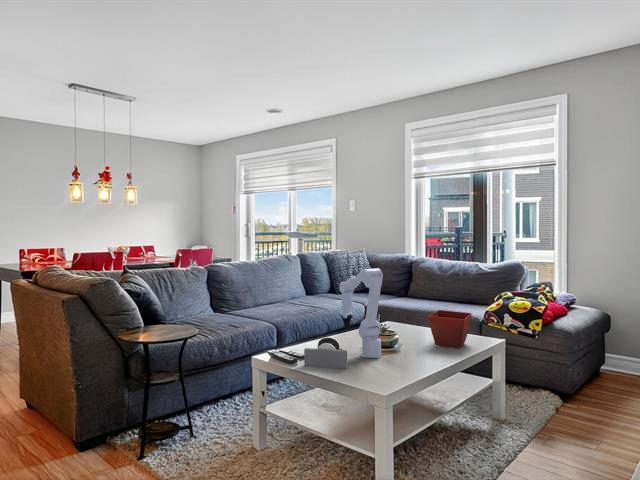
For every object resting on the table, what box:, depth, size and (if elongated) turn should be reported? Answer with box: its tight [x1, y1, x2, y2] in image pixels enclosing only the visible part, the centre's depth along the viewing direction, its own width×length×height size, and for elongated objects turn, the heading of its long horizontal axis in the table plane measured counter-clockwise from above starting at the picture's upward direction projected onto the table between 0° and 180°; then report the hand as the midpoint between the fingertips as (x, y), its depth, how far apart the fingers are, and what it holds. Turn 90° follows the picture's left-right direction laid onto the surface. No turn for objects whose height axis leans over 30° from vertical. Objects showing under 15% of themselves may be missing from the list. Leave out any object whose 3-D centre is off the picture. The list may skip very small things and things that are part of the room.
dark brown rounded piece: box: [317, 337, 343, 350], centre depth 226 cm, size 10×15×15 cm
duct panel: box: [303, 343, 348, 370], centre depth 216 cm, size 20×3×10 cm, turn 78°
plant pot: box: [428, 309, 473, 349], centre depth 254 cm, size 19×19×17 cm
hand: (347, 328), depth 253 cm, fingers closed
